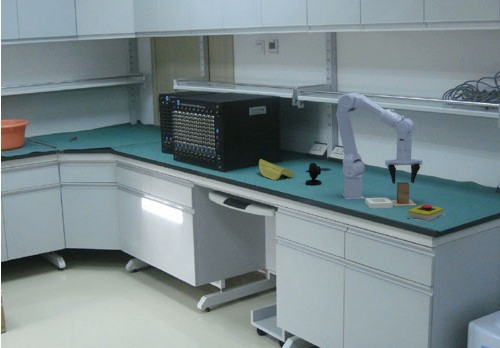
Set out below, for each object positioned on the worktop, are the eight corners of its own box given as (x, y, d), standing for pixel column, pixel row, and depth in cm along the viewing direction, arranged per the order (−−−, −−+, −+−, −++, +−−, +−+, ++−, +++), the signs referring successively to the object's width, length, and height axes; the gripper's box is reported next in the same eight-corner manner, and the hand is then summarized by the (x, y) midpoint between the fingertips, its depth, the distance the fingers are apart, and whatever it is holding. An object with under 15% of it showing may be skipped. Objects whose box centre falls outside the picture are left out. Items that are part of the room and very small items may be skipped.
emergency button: (446, 204, 258) (425, 212, 248) (446, 215, 259) (424, 224, 249) (425, 200, 265) (403, 208, 255) (424, 211, 266) (403, 219, 255)
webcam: (324, 184, 313) (324, 163, 311) (308, 186, 311) (308, 164, 309) (317, 181, 321) (317, 160, 319) (302, 182, 319) (302, 161, 317)
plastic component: (296, 173, 330) (281, 166, 324) (290, 187, 330) (275, 181, 324) (272, 164, 346) (258, 157, 340) (266, 177, 346) (252, 171, 340)
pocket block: (365, 204, 277) (365, 198, 277) (387, 203, 277) (387, 197, 277) (369, 209, 268) (370, 203, 268) (392, 209, 269) (392, 202, 268)
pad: (388, 201, 280) (388, 200, 280) (410, 200, 281) (410, 199, 281) (394, 207, 272) (394, 205, 272) (416, 206, 272) (416, 204, 272)
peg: (396, 201, 278) (397, 182, 276) (406, 201, 278) (406, 182, 276) (399, 203, 274) (399, 184, 272) (408, 203, 274) (409, 184, 273)
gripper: (388, 151, 267) (387, 185, 270) (425, 150, 268) (423, 184, 271) (384, 148, 274) (383, 181, 277) (419, 147, 275) (418, 180, 278)
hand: (403, 182), depth 274 cm, fingers open, 7 cm apart
